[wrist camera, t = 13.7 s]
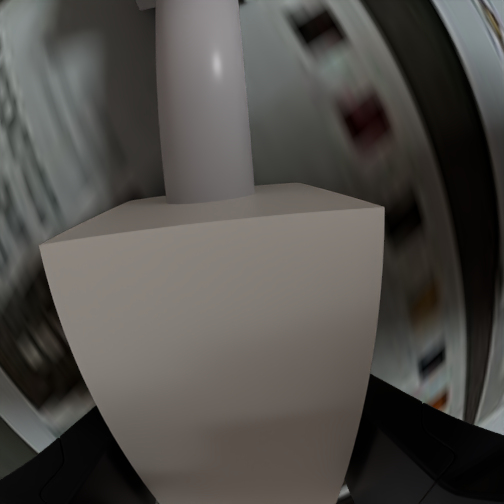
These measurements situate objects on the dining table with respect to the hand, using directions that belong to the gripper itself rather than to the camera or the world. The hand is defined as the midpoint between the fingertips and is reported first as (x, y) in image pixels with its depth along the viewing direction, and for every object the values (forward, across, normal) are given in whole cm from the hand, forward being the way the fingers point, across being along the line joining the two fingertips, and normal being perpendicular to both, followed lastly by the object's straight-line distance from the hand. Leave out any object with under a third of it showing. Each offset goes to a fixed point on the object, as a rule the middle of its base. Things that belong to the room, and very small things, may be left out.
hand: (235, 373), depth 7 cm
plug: (+1, 0, -1) cm, 1 cm away
